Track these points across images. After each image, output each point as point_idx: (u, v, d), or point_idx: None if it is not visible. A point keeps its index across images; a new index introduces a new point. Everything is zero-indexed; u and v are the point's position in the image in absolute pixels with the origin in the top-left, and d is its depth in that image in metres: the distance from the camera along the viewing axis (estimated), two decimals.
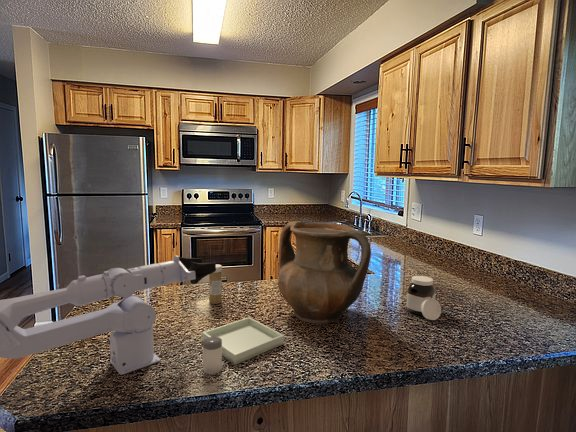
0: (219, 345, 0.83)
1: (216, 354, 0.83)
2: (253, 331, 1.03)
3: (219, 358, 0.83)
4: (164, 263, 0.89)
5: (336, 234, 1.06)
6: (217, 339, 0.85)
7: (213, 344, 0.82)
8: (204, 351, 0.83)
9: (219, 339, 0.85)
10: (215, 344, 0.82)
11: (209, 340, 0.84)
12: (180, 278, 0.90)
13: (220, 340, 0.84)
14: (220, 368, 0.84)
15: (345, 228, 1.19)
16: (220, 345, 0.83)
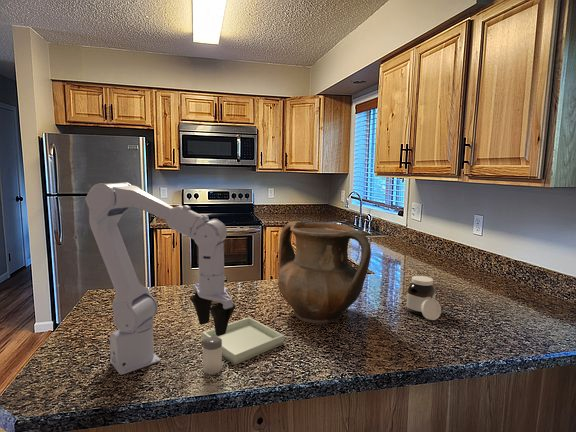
0: (219, 345, 0.83)
1: (216, 354, 0.83)
2: (253, 331, 1.03)
3: (219, 358, 0.83)
4: None
5: (336, 234, 1.06)
6: (217, 339, 0.85)
7: (213, 344, 0.82)
8: (204, 351, 0.83)
9: (219, 339, 0.85)
10: (215, 344, 0.82)
11: (209, 340, 0.84)
12: (212, 295, 0.80)
13: (220, 340, 0.84)
14: (220, 368, 0.84)
15: (345, 228, 1.19)
16: (220, 345, 0.83)
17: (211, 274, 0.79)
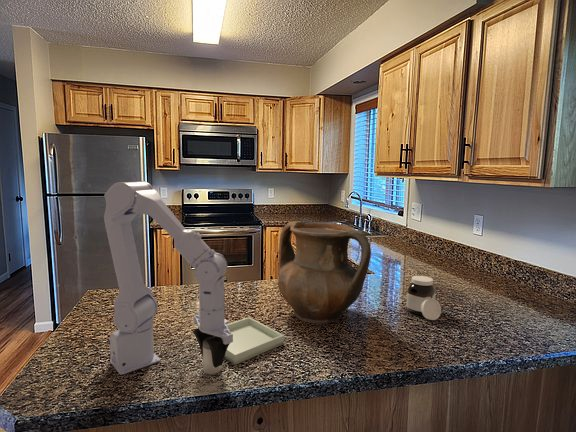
0: None
1: None
2: (253, 331, 1.03)
3: None
4: None
5: (336, 234, 1.06)
6: None
7: None
8: (204, 351, 0.83)
9: None
10: None
11: None
12: (212, 329, 0.81)
13: None
14: (220, 368, 0.84)
15: (345, 228, 1.19)
16: None
17: (211, 309, 0.80)
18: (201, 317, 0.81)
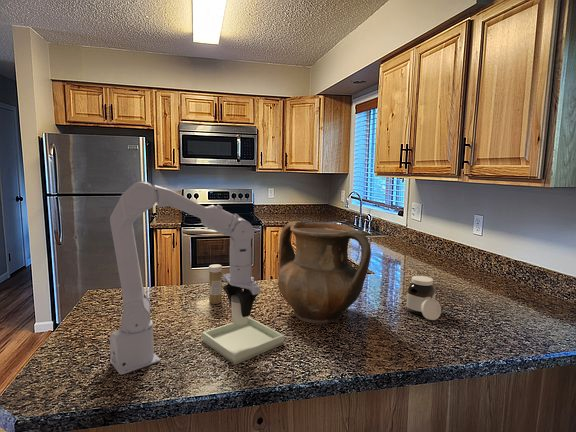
0: None
1: None
2: (253, 331, 1.03)
3: None
4: None
5: (336, 234, 1.06)
6: None
7: None
8: (233, 304, 0.93)
9: None
10: None
11: (236, 296, 0.95)
12: (241, 283, 0.92)
13: None
14: (247, 319, 0.95)
15: (345, 228, 1.19)
16: None
17: (246, 264, 0.92)
18: (231, 272, 0.92)
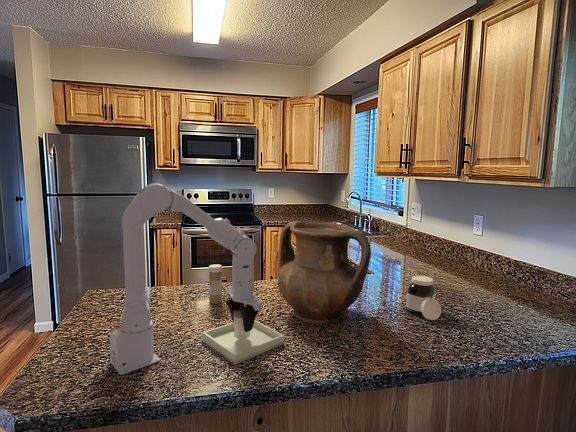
0: None
1: None
2: (253, 331, 1.03)
3: None
4: None
5: (336, 234, 1.06)
6: None
7: None
8: (235, 319, 0.95)
9: None
10: None
11: (238, 311, 0.97)
12: (244, 299, 0.93)
13: None
14: (249, 334, 0.97)
15: (345, 228, 1.19)
16: None
17: (249, 280, 0.94)
18: (234, 288, 0.94)
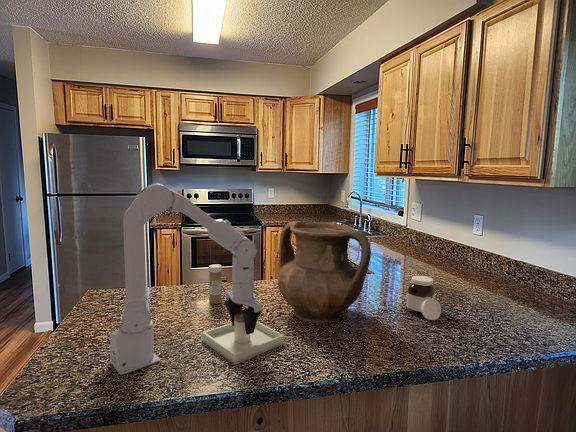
0: None
1: None
2: None
3: None
4: None
5: (336, 234, 1.06)
6: None
7: None
8: (236, 324, 0.95)
9: None
10: None
11: (239, 315, 0.97)
12: (244, 300, 0.94)
13: None
14: (249, 339, 0.97)
15: (345, 228, 1.19)
16: None
17: (249, 282, 0.94)
18: (234, 290, 0.94)
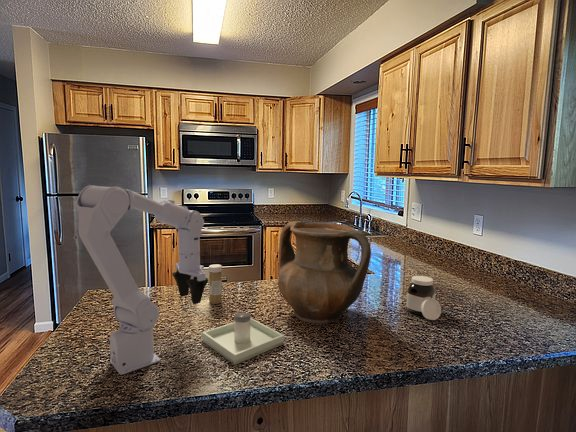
0: (249, 318, 0.96)
1: (247, 326, 0.96)
2: (253, 331, 1.03)
3: (249, 330, 0.96)
4: None
5: (336, 234, 1.06)
6: (246, 314, 0.98)
7: (244, 318, 0.95)
8: (236, 324, 0.95)
9: (248, 314, 0.98)
10: (245, 318, 0.95)
11: (239, 315, 0.97)
12: (189, 270, 0.97)
13: (249, 314, 0.97)
14: (249, 339, 0.97)
15: (345, 228, 1.19)
16: (249, 319, 0.96)
17: (198, 251, 0.99)
18: (180, 260, 0.98)
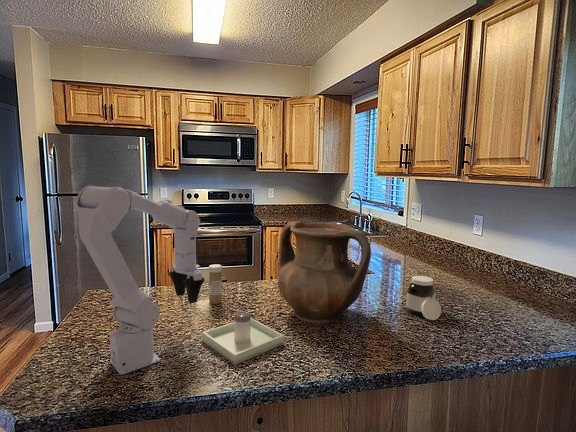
0: (249, 318, 0.96)
1: (247, 326, 0.96)
2: (253, 331, 1.03)
3: (249, 330, 0.96)
4: None
5: (336, 234, 1.06)
6: (247, 314, 0.98)
7: (244, 318, 0.95)
8: (236, 324, 0.96)
9: (248, 314, 0.98)
10: (246, 318, 0.95)
11: (239, 315, 0.97)
12: (185, 270, 0.98)
13: (249, 314, 0.97)
14: (249, 339, 0.97)
15: (345, 228, 1.19)
16: (250, 319, 0.96)
17: (195, 251, 1.00)
18: (176, 260, 0.98)
